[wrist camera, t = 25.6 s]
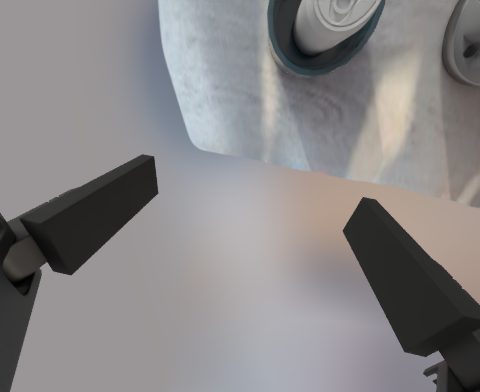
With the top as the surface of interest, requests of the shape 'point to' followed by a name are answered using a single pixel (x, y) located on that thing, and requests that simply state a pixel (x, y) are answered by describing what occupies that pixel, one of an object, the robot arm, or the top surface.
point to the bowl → (302, 65)
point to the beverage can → (329, 22)
